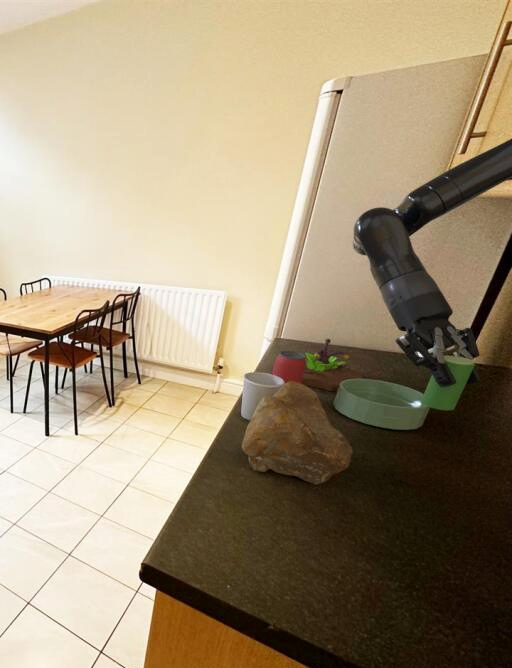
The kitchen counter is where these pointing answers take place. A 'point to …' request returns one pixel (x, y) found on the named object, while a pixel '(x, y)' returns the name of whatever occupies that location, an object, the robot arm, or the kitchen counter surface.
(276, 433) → the rough brown rock
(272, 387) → the dixie cup
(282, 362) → the beer can
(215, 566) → the kitchen counter surface
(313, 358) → the plant
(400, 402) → the bowl
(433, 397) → the green cylinder
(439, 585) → the kitchen counter surface
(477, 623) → the kitchen counter surface
